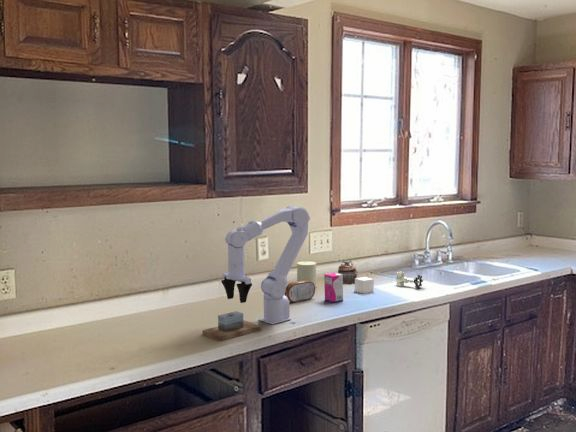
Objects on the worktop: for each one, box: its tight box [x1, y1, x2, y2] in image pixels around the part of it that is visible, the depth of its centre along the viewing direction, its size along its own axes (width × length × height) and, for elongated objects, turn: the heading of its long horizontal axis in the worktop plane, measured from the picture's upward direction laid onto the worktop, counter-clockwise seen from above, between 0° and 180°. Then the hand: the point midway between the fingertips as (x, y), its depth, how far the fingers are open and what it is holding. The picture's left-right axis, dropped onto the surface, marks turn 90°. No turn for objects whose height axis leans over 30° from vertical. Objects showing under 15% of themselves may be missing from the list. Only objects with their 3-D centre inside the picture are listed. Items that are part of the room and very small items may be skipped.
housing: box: [217, 310, 244, 332], centre depth 205 cm, size 4×8×5 cm, turn 132°
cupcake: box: [337, 260, 359, 284], centre depth 285 cm, size 10×10×10 cm
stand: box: [202, 319, 262, 342], centre depth 205 cm, size 18×10×2 cm, turn 132°
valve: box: [395, 271, 424, 289], centre depth 273 cm, size 7×7×12 cm
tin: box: [284, 280, 316, 303], centre depth 249 cm, size 15×3×8 cm, turn 126°
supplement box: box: [323, 272, 344, 304], centre depth 248 cm, size 6×6×12 cm
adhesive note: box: [354, 276, 375, 294], centre depth 264 cm, size 6×6×6 cm
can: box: [296, 260, 317, 289], centre depth 273 cm, size 9×9×12 cm
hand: (236, 300), depth 212 cm, fingers open, 7 cm apart
